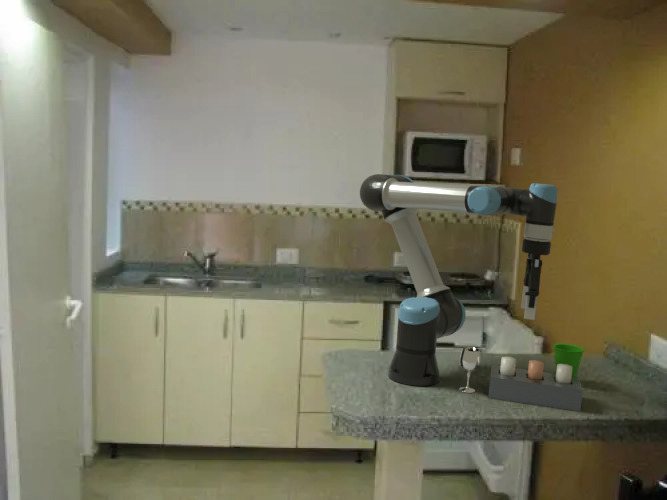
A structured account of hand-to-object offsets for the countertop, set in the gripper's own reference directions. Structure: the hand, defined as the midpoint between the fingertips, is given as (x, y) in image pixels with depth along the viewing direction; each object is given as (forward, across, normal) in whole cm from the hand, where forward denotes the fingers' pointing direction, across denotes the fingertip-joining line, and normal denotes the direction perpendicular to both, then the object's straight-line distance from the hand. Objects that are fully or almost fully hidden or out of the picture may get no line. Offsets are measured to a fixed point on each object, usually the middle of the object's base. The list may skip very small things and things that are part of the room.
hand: (527, 313), depth 184 cm
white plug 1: (+20, -3, +3) cm, 20 cm away
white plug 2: (+19, -4, -12) cm, 23 cm away
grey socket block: (+23, -4, -4) cm, 23 cm away
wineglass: (+23, -5, +14) cm, 28 cm away
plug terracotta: (+20, -4, -4) cm, 20 cm away
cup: (+23, +15, -15) cm, 31 cm away
